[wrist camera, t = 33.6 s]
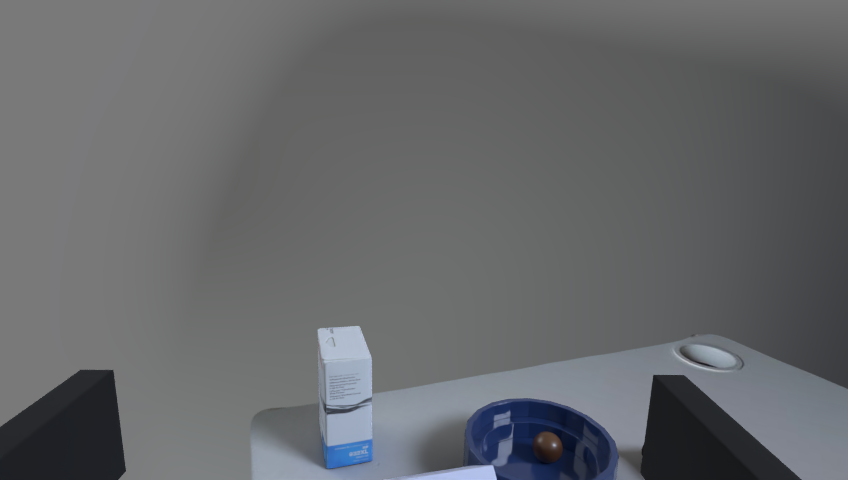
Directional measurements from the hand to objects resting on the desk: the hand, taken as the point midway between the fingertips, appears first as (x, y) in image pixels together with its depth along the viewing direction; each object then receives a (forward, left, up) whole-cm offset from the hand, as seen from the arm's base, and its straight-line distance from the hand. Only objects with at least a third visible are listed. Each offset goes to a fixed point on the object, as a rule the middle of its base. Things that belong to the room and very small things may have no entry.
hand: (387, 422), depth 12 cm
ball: (-5, +36, -24) cm, 43 cm away
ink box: (-25, +28, -26) cm, 45 cm away
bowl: (-5, +33, -26) cm, 42 cm away
